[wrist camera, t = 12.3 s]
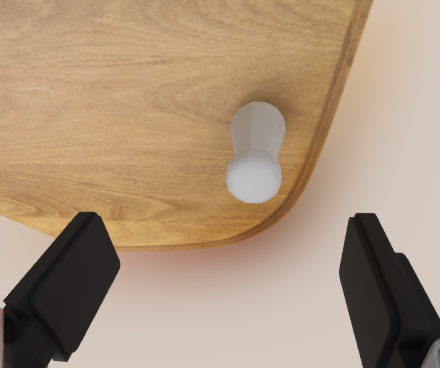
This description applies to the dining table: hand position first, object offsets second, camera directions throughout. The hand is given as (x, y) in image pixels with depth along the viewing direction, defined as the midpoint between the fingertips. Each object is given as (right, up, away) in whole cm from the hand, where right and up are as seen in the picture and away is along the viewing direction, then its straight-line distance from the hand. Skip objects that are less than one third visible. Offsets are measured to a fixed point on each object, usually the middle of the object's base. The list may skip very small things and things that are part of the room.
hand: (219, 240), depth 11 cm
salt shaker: (+4, +9, +21) cm, 23 cm away
